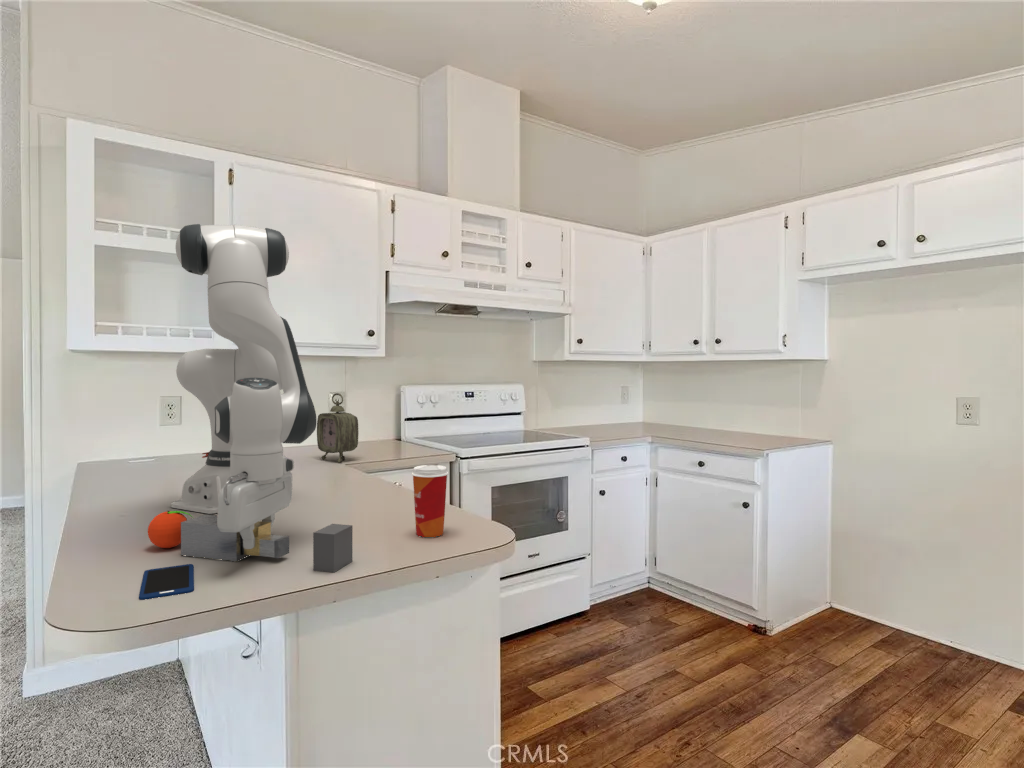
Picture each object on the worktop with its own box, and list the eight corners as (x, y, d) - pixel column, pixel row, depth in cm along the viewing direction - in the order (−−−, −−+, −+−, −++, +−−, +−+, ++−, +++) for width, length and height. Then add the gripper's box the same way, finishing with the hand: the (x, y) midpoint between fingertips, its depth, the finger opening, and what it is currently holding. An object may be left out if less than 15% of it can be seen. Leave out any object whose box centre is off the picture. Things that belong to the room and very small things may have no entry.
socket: (313, 570, 101) (313, 532, 101) (332, 559, 107) (332, 523, 107) (334, 572, 100) (334, 534, 100) (352, 561, 106) (352, 525, 106)
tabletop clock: (316, 459, 220) (316, 392, 219) (338, 457, 227) (338, 392, 226) (338, 464, 211) (338, 394, 210) (360, 461, 217) (360, 393, 217)
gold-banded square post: (188, 549, 109) (188, 520, 109) (202, 543, 113) (202, 516, 112) (277, 558, 104) (277, 528, 104) (289, 552, 108) (289, 523, 108)
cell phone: (138, 603, 88) (138, 598, 88) (144, 574, 100) (144, 569, 100) (194, 594, 91) (194, 589, 91) (193, 567, 103) (193, 562, 103)
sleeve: (181, 555, 108) (180, 522, 108) (205, 546, 114) (205, 514, 114) (236, 561, 105) (236, 527, 105) (259, 551, 111) (259, 519, 111)
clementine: (196, 539, 119) (195, 504, 118) (195, 549, 112) (195, 512, 112) (149, 544, 115) (149, 508, 115) (146, 555, 109) (145, 516, 109)
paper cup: (415, 528, 128) (415, 464, 127) (450, 529, 127) (450, 464, 127) (407, 539, 120) (407, 470, 119) (445, 539, 120) (445, 470, 119)
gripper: (243, 478, 96) (243, 562, 97) (298, 459, 117) (298, 528, 117) (206, 478, 97) (207, 561, 97) (267, 458, 117) (267, 527, 118)
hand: (257, 543), depth 107 cm, fingers closed on gold-banded square post, 4 cm apart
